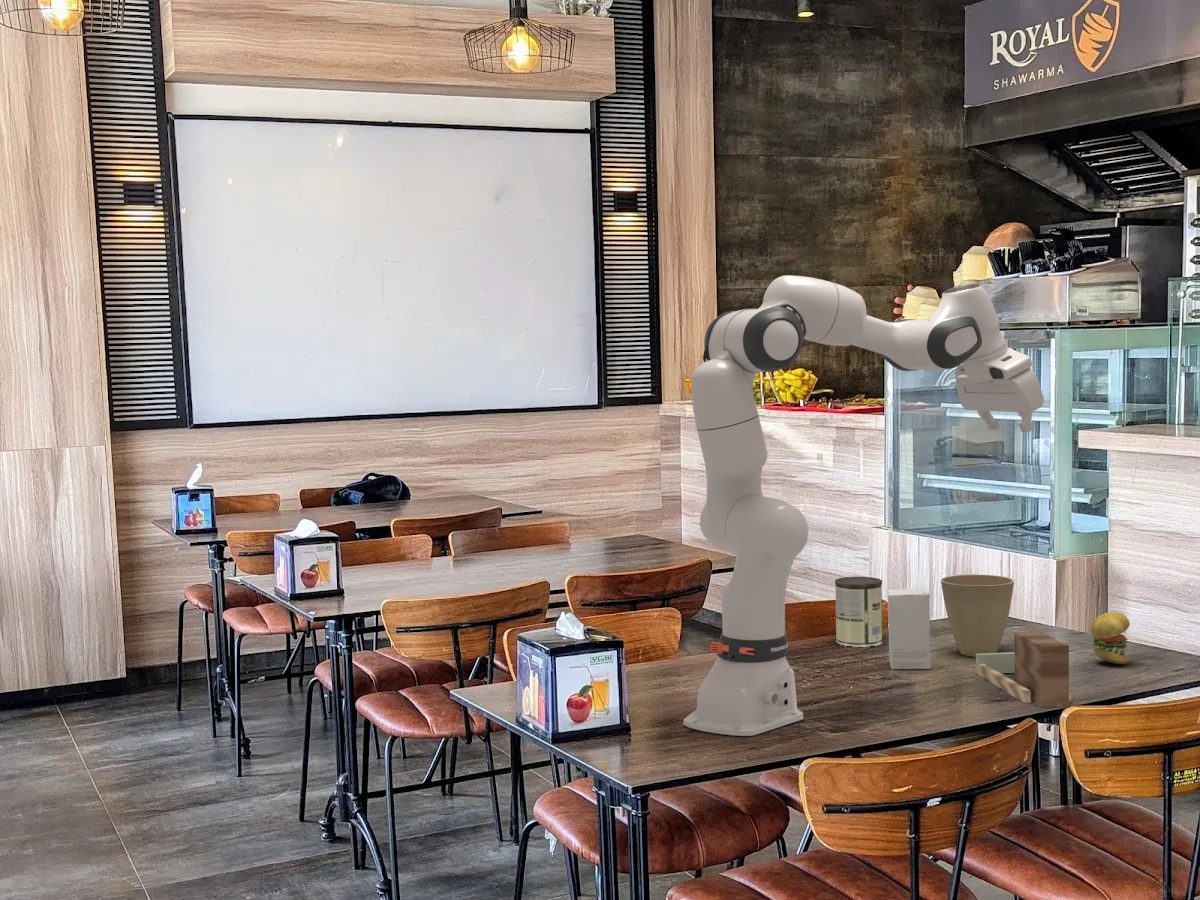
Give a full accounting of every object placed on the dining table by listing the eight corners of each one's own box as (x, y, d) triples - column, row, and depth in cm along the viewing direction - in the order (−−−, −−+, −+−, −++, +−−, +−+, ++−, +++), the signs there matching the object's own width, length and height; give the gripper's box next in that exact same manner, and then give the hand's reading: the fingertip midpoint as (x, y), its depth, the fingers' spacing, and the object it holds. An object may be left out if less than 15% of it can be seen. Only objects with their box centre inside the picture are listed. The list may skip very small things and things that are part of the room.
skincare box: (929, 663, 268) (928, 588, 267) (931, 670, 261) (931, 593, 260) (887, 662, 269) (887, 587, 268) (888, 669, 263) (888, 593, 262)
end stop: (1021, 673, 258) (1021, 653, 257) (978, 674, 257) (978, 655, 257) (1019, 671, 259) (1019, 651, 259) (975, 673, 258) (975, 653, 258)
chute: (1071, 701, 236) (1071, 689, 236) (1024, 703, 235) (1024, 691, 235) (1021, 673, 258) (1021, 662, 258) (978, 674, 257) (978, 663, 257)
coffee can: (841, 636, 296) (841, 575, 295) (886, 640, 291) (886, 577, 290) (830, 646, 286) (829, 582, 285) (877, 649, 282) (876, 584, 281)
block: (1068, 706, 233) (1068, 645, 232) (1041, 707, 232) (1041, 646, 232) (1040, 690, 245) (1040, 632, 244) (1014, 691, 244) (1014, 633, 243)
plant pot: (984, 644, 285) (984, 572, 284) (1029, 657, 271) (1029, 582, 270) (926, 650, 280) (926, 577, 279) (968, 664, 266) (968, 587, 265)
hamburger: (1137, 667, 261) (1137, 607, 260) (1106, 669, 259) (1106, 610, 259) (1113, 658, 269) (1113, 601, 268) (1082, 661, 267) (1083, 603, 266)
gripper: (940, 371, 255) (963, 434, 258) (1011, 371, 236) (1034, 439, 239) (965, 358, 257) (987, 421, 260) (1036, 356, 238) (1059, 425, 241)
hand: (1010, 430), depth 249 cm, fingers open, 8 cm apart
